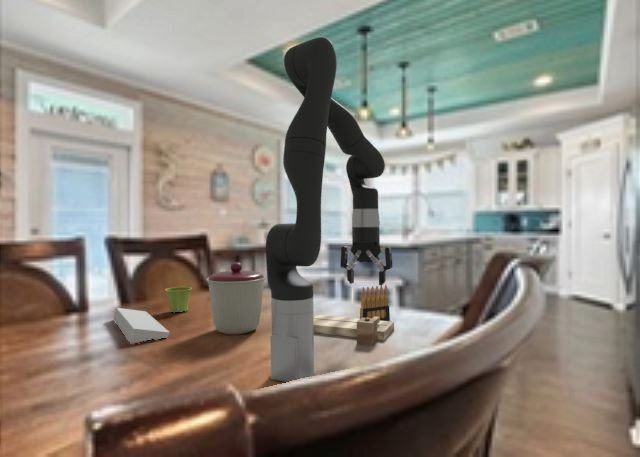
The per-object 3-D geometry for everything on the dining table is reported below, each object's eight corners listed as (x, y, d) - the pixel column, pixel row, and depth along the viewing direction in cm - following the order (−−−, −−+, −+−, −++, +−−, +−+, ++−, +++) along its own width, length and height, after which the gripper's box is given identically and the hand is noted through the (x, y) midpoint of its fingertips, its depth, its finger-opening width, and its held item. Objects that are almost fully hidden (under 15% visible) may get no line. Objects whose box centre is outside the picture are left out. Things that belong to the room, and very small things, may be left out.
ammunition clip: (362, 324, 132) (362, 287, 132) (359, 323, 134) (359, 286, 134) (390, 320, 137) (389, 284, 137) (386, 319, 139) (386, 284, 138)
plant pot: (164, 310, 157) (164, 287, 157) (190, 307, 161) (190, 285, 161) (166, 315, 148) (166, 291, 148) (193, 312, 152) (193, 289, 152)
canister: (235, 320, 140) (234, 258, 139) (278, 327, 130) (277, 261, 130) (194, 333, 124) (192, 264, 124) (239, 342, 115) (238, 267, 114)
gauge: (372, 345, 111) (372, 320, 111) (356, 343, 112) (356, 319, 112) (384, 333, 122) (384, 311, 122) (370, 331, 124) (369, 310, 124)
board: (394, 329, 126) (394, 321, 126) (384, 340, 115) (384, 331, 115) (311, 321, 137) (311, 314, 137) (294, 330, 126) (294, 322, 126)
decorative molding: (142, 324, 147) (112, 321, 142) (145, 311, 148) (116, 307, 143) (165, 348, 119) (129, 346, 114) (169, 332, 120) (133, 328, 114)
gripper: (336, 225, 113) (337, 284, 113) (387, 225, 107) (388, 287, 107) (345, 225, 120) (346, 280, 120) (394, 225, 114) (394, 283, 114)
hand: (366, 284), depth 114 cm, fingers open, 8 cm apart
